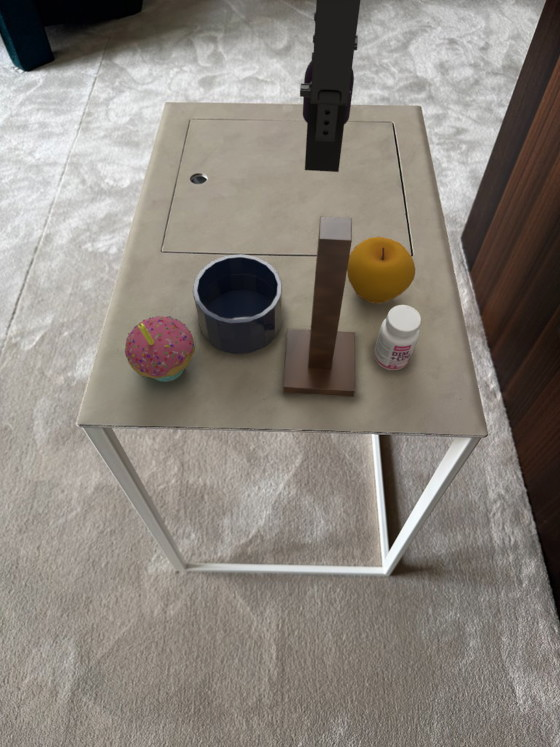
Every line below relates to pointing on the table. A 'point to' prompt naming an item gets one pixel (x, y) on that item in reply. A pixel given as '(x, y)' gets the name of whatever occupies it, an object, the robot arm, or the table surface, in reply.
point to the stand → (324, 323)
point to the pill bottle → (397, 337)
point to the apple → (380, 269)
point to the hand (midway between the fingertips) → (322, 150)
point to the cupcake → (160, 348)
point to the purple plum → (306, 99)
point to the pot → (238, 303)
